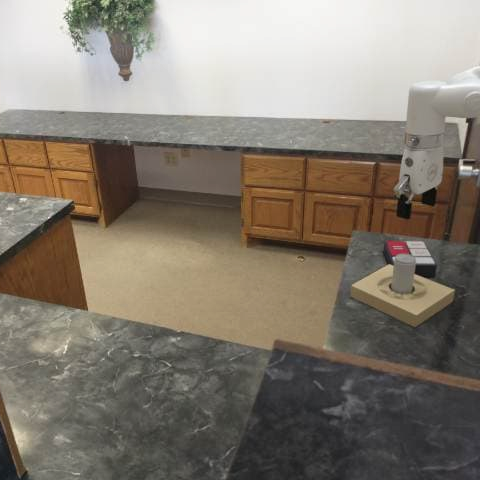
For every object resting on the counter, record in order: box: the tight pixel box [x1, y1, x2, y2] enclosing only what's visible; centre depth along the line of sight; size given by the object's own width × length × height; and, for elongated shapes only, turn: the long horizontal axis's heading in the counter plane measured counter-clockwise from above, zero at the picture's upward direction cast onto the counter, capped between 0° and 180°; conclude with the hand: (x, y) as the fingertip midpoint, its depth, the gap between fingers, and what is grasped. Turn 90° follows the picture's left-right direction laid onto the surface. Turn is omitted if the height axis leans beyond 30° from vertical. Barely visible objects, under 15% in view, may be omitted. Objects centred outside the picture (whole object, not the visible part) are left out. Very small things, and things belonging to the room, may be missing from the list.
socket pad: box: [349, 264, 456, 328], centre depth 129 cm, size 18×16×4 cm
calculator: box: [383, 240, 438, 278], centre depth 144 cm, size 11×4×15 cm
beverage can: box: [391, 254, 416, 294], centre depth 127 cm, size 5×5×12 cm
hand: (415, 211), depth 119 cm, fingers open, 9 cm apart
